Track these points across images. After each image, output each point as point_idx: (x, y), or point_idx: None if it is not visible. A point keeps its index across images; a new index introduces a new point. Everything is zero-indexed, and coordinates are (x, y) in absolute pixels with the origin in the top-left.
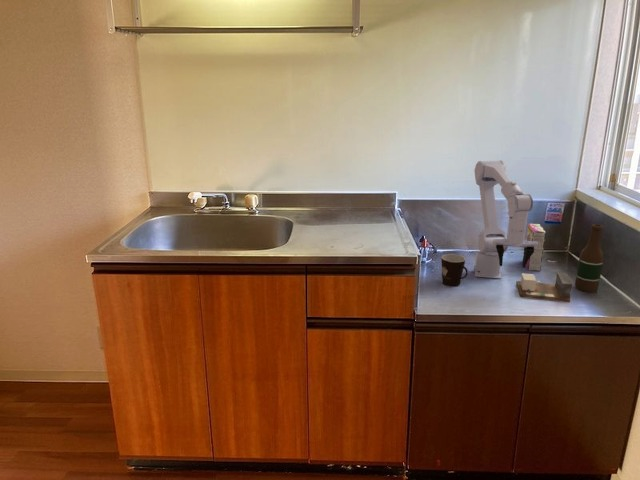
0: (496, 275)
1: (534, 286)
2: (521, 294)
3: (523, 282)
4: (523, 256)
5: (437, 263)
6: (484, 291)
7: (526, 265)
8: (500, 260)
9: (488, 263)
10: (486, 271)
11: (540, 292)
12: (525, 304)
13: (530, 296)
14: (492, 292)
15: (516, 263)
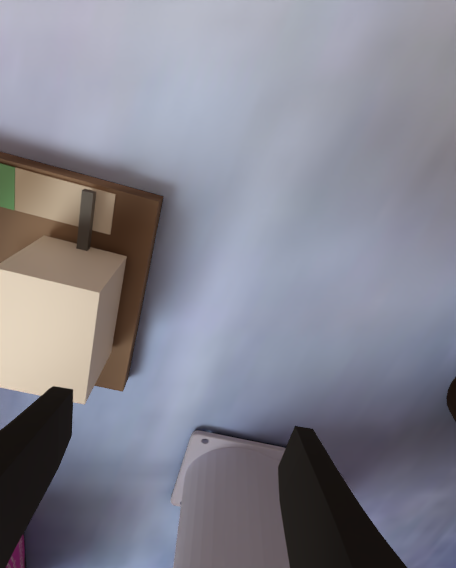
0: (212, 454)
1: (31, 249)
2: (152, 198)
3: (108, 283)
4: (9, 556)
5: (423, 565)
6: (362, 285)
7: (22, 542)
8: (346, 487)
9: (269, 531)
10: (269, 479)
11: (6, 225)
12: (163, 60)
13: (91, 179)
14: (318, 270)
15: (63, 560)
